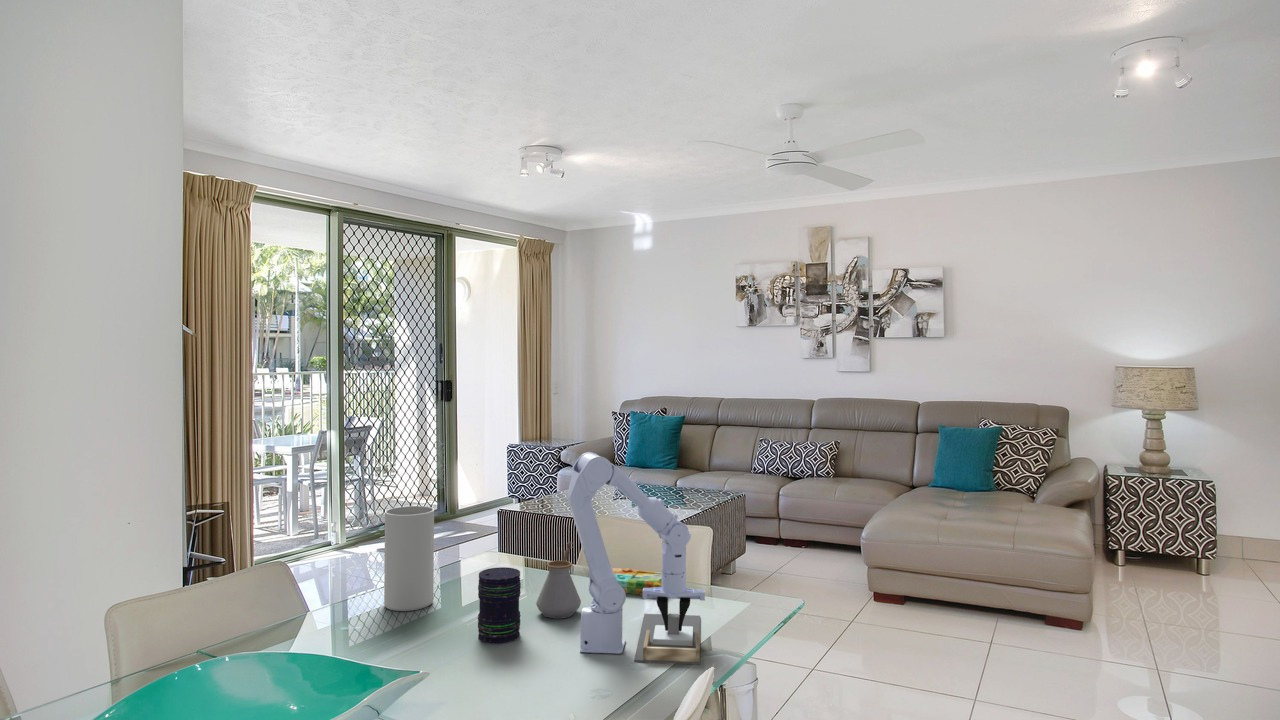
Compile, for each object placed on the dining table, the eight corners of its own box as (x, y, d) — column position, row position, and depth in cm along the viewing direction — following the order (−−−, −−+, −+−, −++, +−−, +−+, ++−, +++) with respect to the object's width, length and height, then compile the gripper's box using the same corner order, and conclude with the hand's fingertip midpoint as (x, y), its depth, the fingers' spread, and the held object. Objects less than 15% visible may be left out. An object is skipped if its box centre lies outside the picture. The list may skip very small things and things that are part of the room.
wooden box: (642, 661, 159) (643, 647, 159) (646, 642, 170) (646, 629, 170) (699, 663, 158) (699, 650, 158) (699, 644, 169) (699, 631, 169)
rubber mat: (634, 661, 159) (634, 660, 159) (644, 615, 189) (644, 613, 189) (699, 664, 158) (699, 662, 158) (699, 617, 187) (699, 615, 187)
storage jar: (515, 626, 180) (516, 565, 180) (524, 641, 170) (524, 576, 171) (474, 631, 176) (475, 569, 176) (481, 646, 167) (481, 580, 167)
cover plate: (653, 644, 168) (653, 621, 168) (655, 630, 177) (655, 608, 177) (692, 645, 167) (692, 622, 167) (692, 631, 176) (693, 609, 176)
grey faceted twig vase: (576, 622, 183) (576, 562, 183) (531, 620, 184) (531, 560, 184) (590, 595, 204) (591, 541, 204) (550, 593, 205) (550, 540, 206)
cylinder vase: (374, 610, 191) (375, 513, 191) (401, 595, 203) (401, 504, 203) (417, 614, 188) (418, 516, 188) (442, 599, 200) (442, 507, 200)
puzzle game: (606, 565, 219) (672, 570, 214) (606, 580, 219) (672, 587, 214) (593, 575, 208) (661, 582, 202) (593, 592, 208) (661, 599, 202)
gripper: (641, 575, 169) (641, 634, 169) (705, 577, 168) (704, 636, 168) (644, 566, 176) (643, 623, 176) (704, 568, 175) (704, 625, 175)
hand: (673, 629), depth 172 cm, fingers closed on cover plate, 2 cm apart
